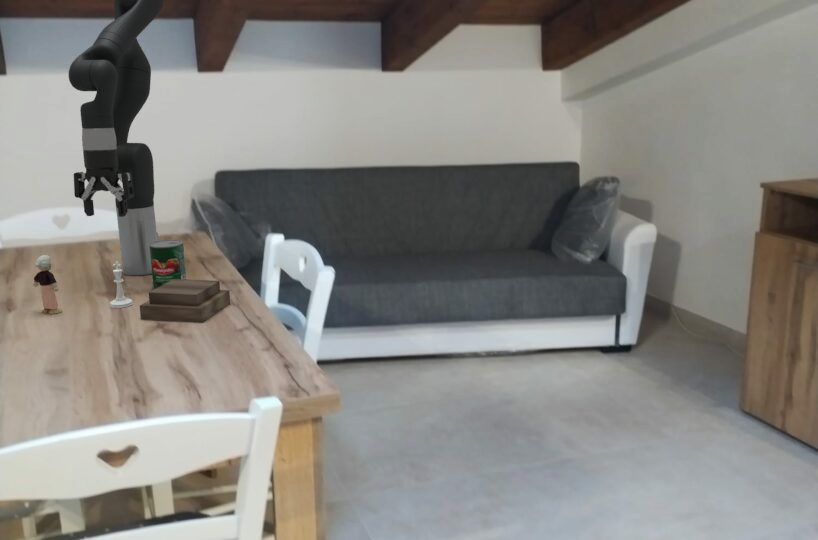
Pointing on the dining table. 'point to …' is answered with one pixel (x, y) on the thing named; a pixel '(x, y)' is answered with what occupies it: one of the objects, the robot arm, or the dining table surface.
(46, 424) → the dining table surface
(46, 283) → the grandmother figurine
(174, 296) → the walnut pedestal
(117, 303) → the chess piece
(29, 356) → the dining table surface
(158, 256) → the canned tomato
